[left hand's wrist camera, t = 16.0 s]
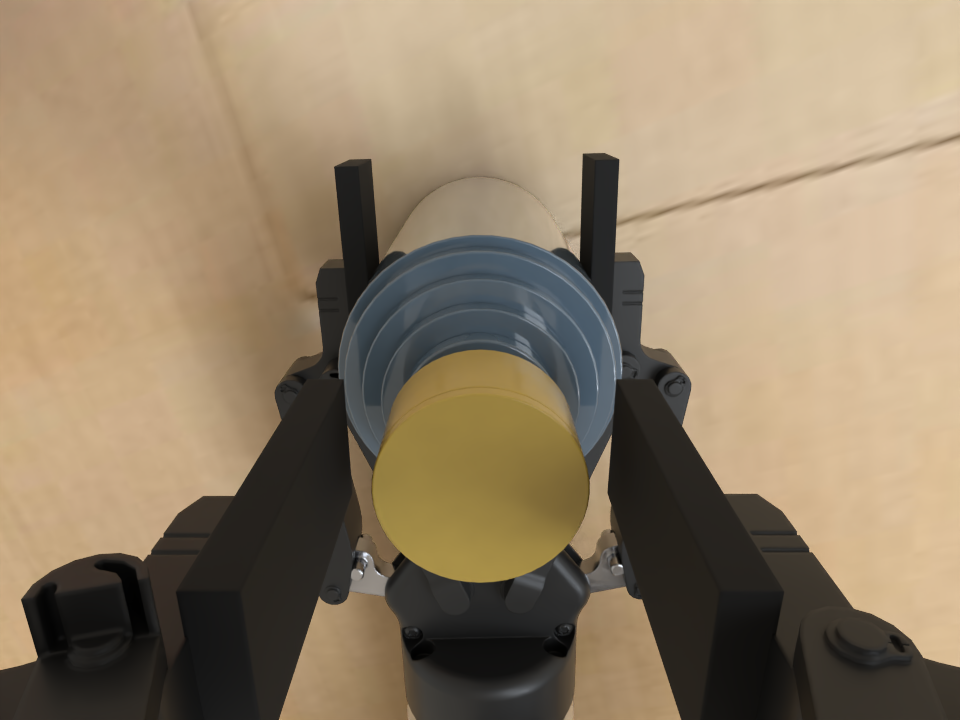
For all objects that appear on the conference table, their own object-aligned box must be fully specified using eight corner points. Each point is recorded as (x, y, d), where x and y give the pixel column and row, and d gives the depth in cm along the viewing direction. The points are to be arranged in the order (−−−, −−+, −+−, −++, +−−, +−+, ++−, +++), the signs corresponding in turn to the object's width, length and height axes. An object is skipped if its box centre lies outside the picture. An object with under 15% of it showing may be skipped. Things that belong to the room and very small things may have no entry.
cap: (350, 450, 15) (328, 510, 13) (462, 310, 14) (459, 349, 11) (495, 545, 16) (498, 617, 13) (612, 421, 15) (635, 477, 12)
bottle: (506, 141, 29) (547, 205, 11) (593, 286, 31) (742, 527, 13) (363, 237, 30) (202, 427, 13) (457, 369, 32) (430, 685, 15)
